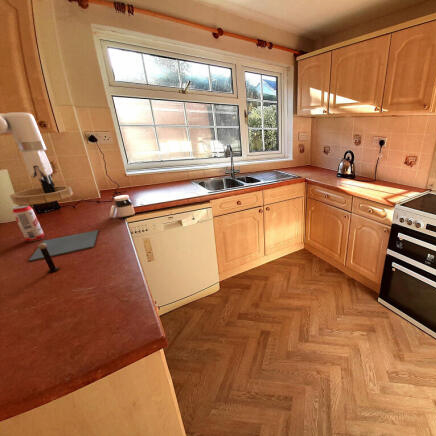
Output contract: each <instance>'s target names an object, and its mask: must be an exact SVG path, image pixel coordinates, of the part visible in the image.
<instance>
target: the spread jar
mask: <svg viewBox="0 0 436 436" xmlns="http://www.w3.org/2000/svg"><path fill="white" fill-rule="evenodd" d="M113 200H114V205H111V207H110V210H109V218H111V219H114V218H115V217H116V215H118V218H119V219H121V220H123V219H124V220H125V219H130V218H132V217H135V215H136V212H135V208H134V205H133V203H132V201H131V199H130V196H129V194H121V195H120V194H119V195H116V196H114V197H113Z"/></svg>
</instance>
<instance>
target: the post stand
mask: <svg viewBox="0 0 436 436" xmlns="http://www.w3.org/2000/svg"><path fill="white" fill-rule="evenodd" d="M46 247H47V245H46V244H45V243H42V242H40V243H38V245H37V249H38V248H39V249H40V250H41V252H42V254H43V256H44V258H43V259H44V260H45V263H46V265H47V267H48V271H47V272H48V273H50V274H52V273H55V272H57V271H59V267H58V266H56V265H55V262H54V261H53V259H52V258H53V257H51V256H50V254H49V252H48V250H47V248H46Z"/></svg>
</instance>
